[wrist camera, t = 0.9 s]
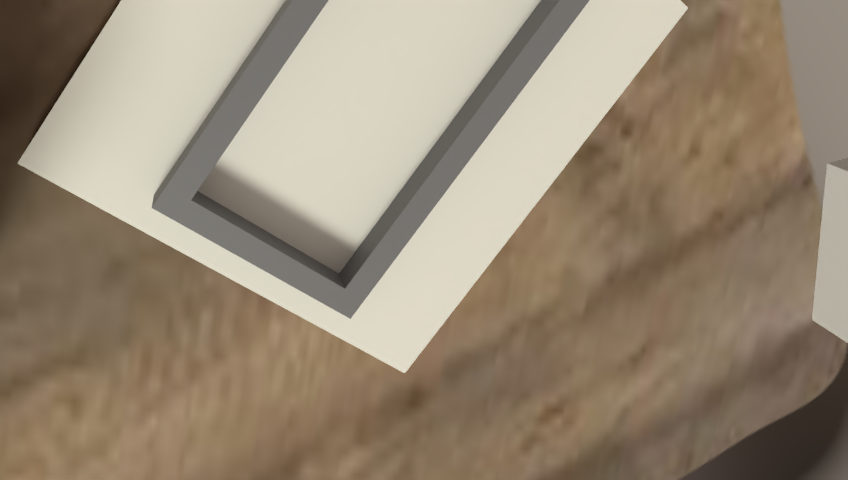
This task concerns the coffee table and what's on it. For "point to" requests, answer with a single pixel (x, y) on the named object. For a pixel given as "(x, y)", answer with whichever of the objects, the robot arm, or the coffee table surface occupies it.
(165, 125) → the mounting board
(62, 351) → the coffee table surface
